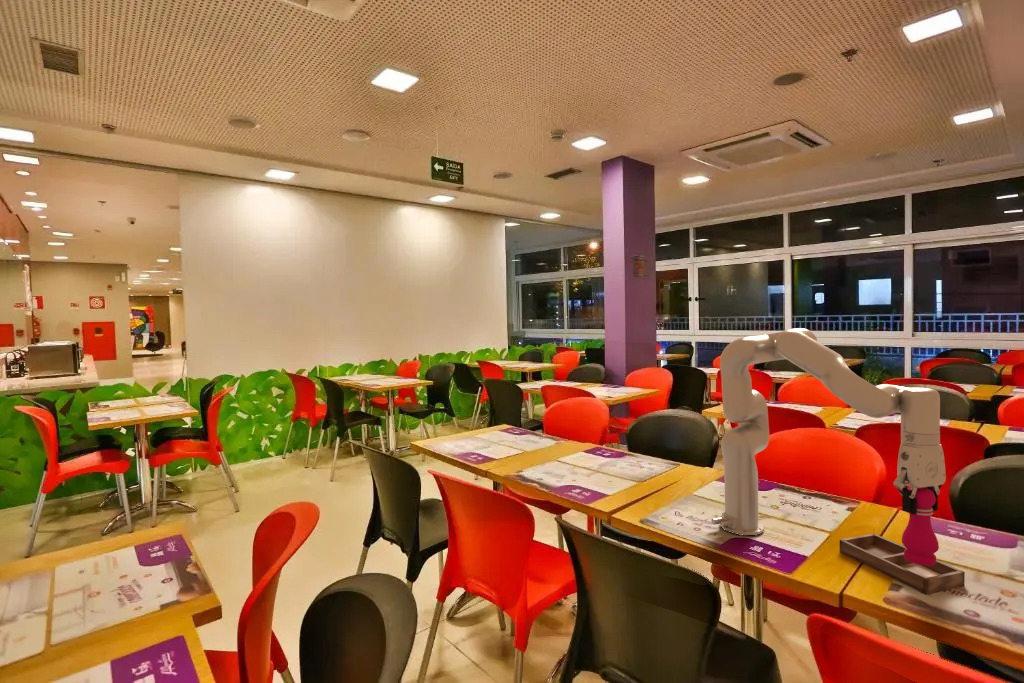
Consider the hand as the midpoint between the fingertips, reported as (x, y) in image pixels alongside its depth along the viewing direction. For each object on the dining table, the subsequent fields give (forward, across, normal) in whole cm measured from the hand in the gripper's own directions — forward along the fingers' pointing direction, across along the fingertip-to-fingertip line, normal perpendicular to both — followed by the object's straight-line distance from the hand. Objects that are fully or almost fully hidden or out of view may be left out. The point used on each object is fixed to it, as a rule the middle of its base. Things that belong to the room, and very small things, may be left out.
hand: (919, 510), depth 129 cm
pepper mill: (+13, 0, 0) cm, 13 cm away
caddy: (+17, 0, +6) cm, 18 cm away
